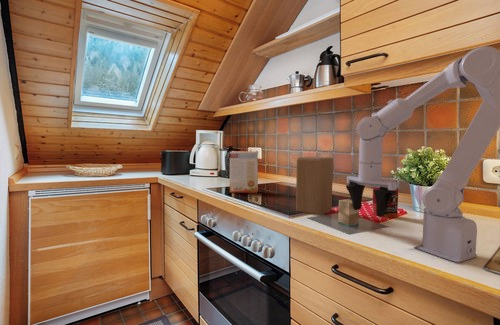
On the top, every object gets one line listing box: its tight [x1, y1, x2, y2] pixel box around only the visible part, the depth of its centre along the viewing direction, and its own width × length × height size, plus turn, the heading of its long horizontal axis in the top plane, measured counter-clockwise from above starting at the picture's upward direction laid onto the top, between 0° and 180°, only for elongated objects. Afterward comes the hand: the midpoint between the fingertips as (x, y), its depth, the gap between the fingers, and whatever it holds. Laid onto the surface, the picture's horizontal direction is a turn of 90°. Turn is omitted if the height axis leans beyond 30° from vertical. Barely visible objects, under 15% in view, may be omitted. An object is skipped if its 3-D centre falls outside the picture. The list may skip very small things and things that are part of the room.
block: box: [295, 156, 334, 216], centre depth 97 cm, size 10×10×20 cm
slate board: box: [306, 212, 390, 235], centre depth 83 cm, size 18×16×1 cm
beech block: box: [338, 198, 360, 227], centre depth 81 cm, size 4×4×7 cm
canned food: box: [371, 184, 399, 219], centre depth 92 cm, size 8×8×11 cm
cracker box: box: [229, 150, 259, 194], centre depth 139 cm, size 14×6×21 cm, turn 84°
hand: (368, 212), depth 74 cm, fingers open, 7 cm apart
